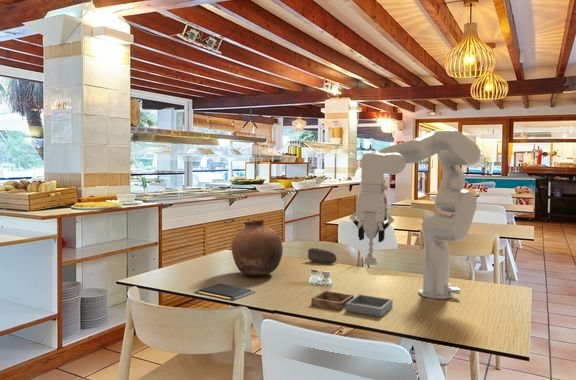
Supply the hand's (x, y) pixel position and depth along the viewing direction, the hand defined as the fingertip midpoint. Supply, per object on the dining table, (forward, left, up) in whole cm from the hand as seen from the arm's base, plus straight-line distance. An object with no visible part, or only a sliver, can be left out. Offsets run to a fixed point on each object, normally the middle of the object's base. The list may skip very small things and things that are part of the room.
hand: (371, 240), depth 166 cm
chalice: (0, 0, -8) cm, 8 cm away
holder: (+14, 0, -25) cm, 28 cm away
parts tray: (0, 0, -25) cm, 25 cm away
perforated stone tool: (+46, -60, -25) cm, 80 cm away
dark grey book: (+56, +9, -26) cm, 62 cm away
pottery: (+61, -22, -25) cm, 69 cm away
